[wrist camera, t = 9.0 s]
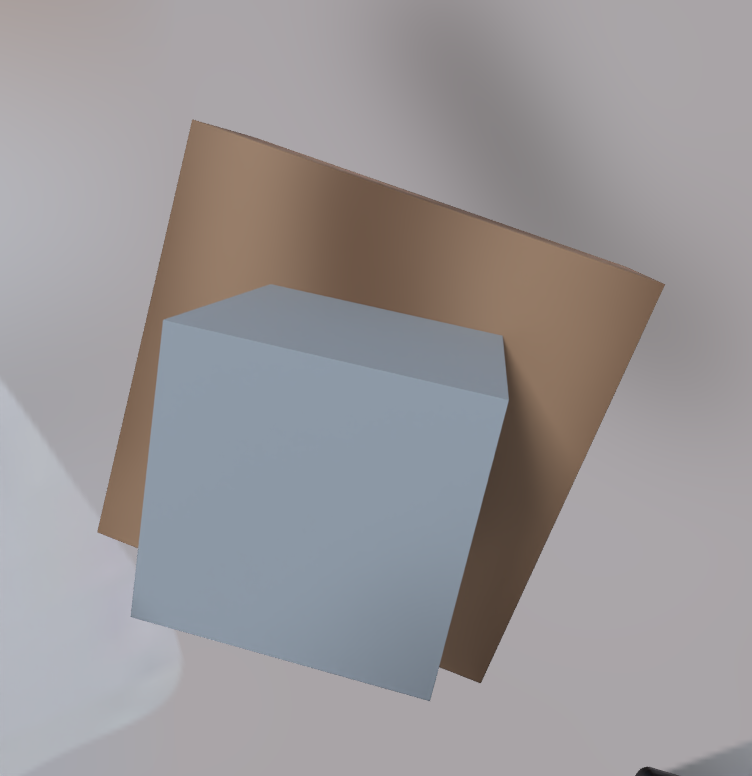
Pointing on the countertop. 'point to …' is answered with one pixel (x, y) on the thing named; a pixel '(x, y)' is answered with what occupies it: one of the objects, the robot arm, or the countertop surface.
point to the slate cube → (317, 481)
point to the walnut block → (412, 297)
